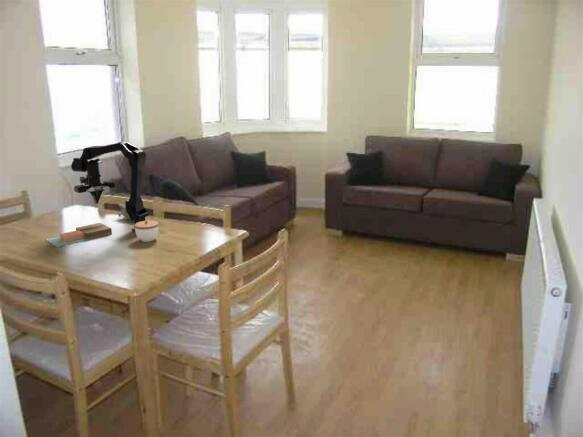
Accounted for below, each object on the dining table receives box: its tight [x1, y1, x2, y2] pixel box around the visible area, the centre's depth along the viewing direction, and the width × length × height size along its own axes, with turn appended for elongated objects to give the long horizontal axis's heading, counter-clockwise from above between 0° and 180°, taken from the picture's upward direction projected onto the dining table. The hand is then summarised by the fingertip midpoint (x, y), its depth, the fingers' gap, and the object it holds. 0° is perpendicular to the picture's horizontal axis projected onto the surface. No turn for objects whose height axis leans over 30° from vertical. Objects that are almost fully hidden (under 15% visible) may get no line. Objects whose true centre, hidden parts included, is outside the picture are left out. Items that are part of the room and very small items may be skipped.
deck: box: [75, 222, 113, 241], centre depth 260 cm, size 13×12×3 cm
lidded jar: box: [133, 219, 159, 243], centre depth 250 cm, size 11×11×9 cm
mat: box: [45, 235, 88, 248], centre depth 252 cm, size 14×14×1 cm
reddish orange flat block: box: [59, 230, 85, 242], centre depth 253 cm, size 6×9×2 cm, turn 132°
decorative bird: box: [118, 203, 139, 220], centre depth 283 cm, size 5×16×7 cm, turn 50°
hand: (96, 203), depth 269 cm, fingers closed
